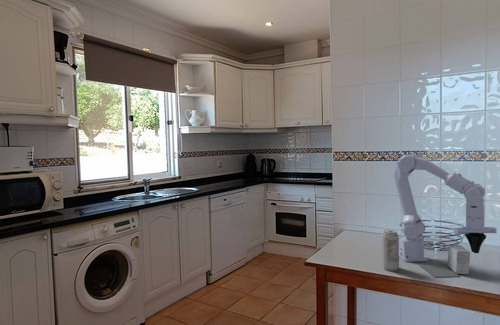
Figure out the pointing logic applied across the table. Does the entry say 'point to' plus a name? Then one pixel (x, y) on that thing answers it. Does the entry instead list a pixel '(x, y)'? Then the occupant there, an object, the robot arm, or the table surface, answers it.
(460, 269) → the medicine box
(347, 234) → the table surface
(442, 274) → the mat
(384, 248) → the energy drink can
